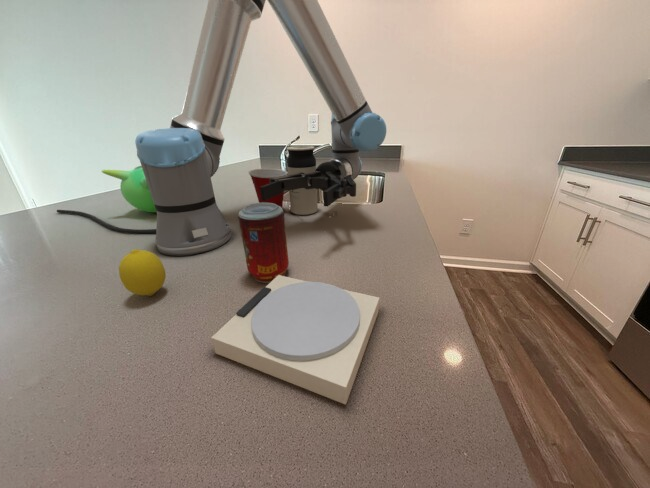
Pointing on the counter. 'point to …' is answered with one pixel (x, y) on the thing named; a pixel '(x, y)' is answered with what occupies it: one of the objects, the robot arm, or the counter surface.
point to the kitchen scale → (302, 334)
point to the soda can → (264, 240)
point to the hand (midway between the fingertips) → (292, 196)
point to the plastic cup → (263, 178)
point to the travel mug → (304, 162)
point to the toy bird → (134, 188)
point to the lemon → (142, 272)
